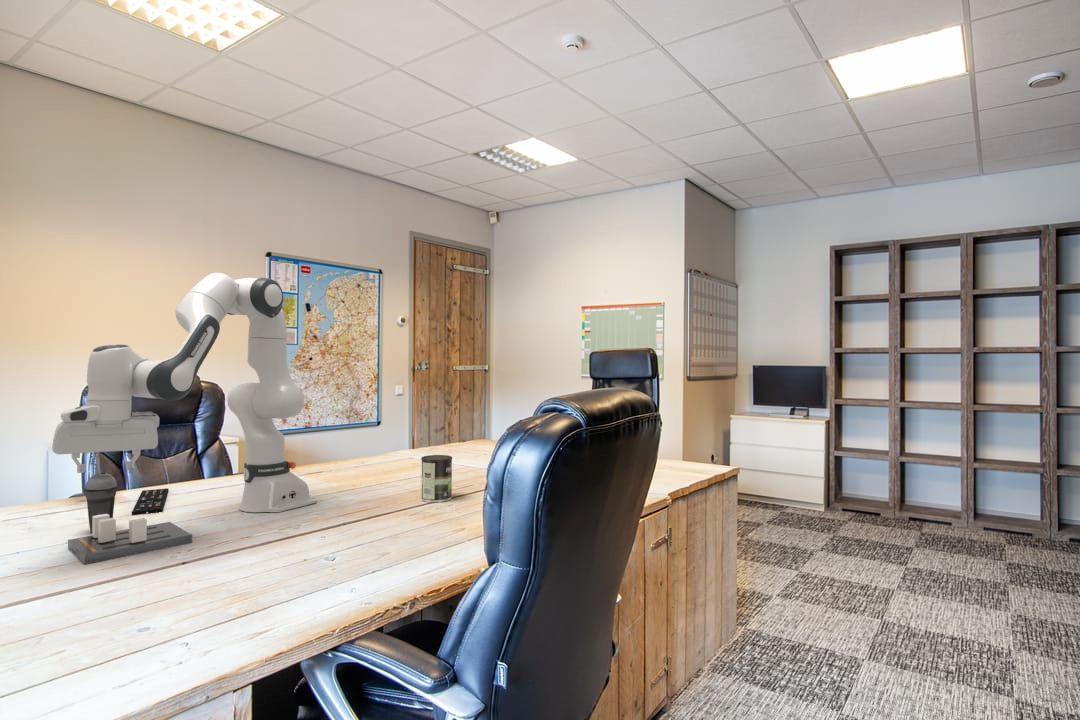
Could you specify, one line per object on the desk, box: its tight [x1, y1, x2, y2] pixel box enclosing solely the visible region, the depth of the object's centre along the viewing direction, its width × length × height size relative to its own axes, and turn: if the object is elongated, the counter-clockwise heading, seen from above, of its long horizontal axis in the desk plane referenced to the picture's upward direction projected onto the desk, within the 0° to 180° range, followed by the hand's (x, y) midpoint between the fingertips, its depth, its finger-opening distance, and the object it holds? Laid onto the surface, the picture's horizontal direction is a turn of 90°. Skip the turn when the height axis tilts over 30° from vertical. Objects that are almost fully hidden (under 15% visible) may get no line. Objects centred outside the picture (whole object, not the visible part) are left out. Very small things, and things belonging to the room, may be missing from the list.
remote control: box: [131, 487, 169, 516], centre depth 190 cm, size 8×32×2 cm, turn 29°
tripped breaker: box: [128, 517, 148, 543], centre depth 143 cm, size 3×2×5 cm
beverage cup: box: [83, 456, 119, 534], centre depth 158 cm, size 7×7×20 cm
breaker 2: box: [98, 517, 117, 543], centre depth 143 cm, size 3×2×5 cm
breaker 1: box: [91, 514, 110, 538], centre depth 147 cm, size 3×2×5 cm
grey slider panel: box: [67, 521, 193, 565], centre depth 147 cm, size 22×17×2 cm
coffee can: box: [420, 454, 453, 503], centre depth 199 cm, size 10×10×14 cm
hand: (106, 470), depth 140 cm, fingers open, 8 cm apart
